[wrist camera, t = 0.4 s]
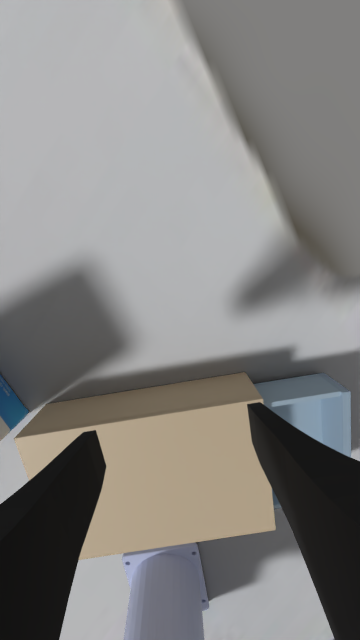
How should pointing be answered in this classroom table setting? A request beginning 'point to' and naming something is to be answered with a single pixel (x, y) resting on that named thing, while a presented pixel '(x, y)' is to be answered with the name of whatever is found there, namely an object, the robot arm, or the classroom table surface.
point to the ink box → (9, 409)
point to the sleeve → (163, 463)
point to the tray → (312, 409)
